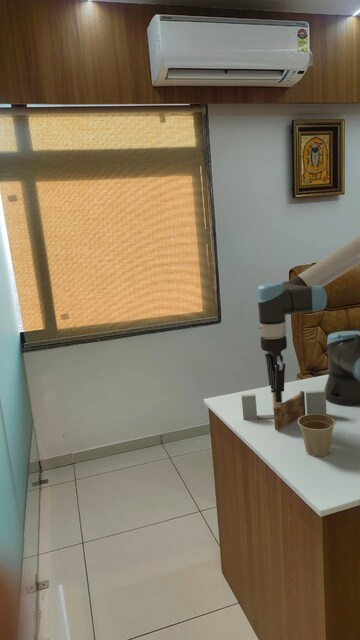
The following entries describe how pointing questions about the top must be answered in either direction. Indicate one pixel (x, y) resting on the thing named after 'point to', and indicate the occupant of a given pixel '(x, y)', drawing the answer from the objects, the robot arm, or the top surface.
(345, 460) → the top surface
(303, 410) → the door
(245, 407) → the wall
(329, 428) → the flower pot
